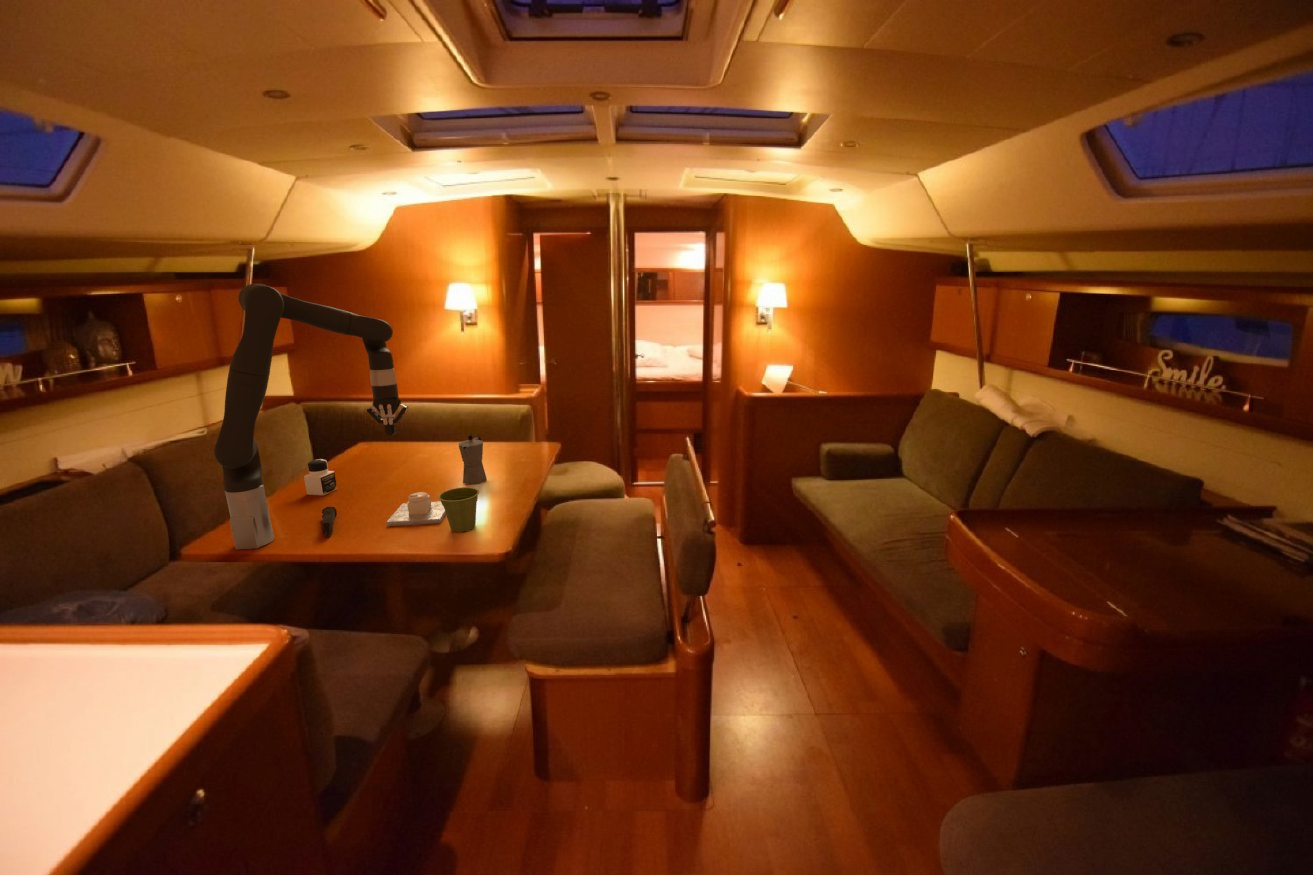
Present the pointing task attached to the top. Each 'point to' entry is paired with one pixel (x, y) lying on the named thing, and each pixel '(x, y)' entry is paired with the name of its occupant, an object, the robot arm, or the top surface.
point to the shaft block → (417, 516)
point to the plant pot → (460, 507)
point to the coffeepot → (472, 461)
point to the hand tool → (328, 520)
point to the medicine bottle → (319, 478)
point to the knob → (419, 503)
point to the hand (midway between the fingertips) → (391, 435)
